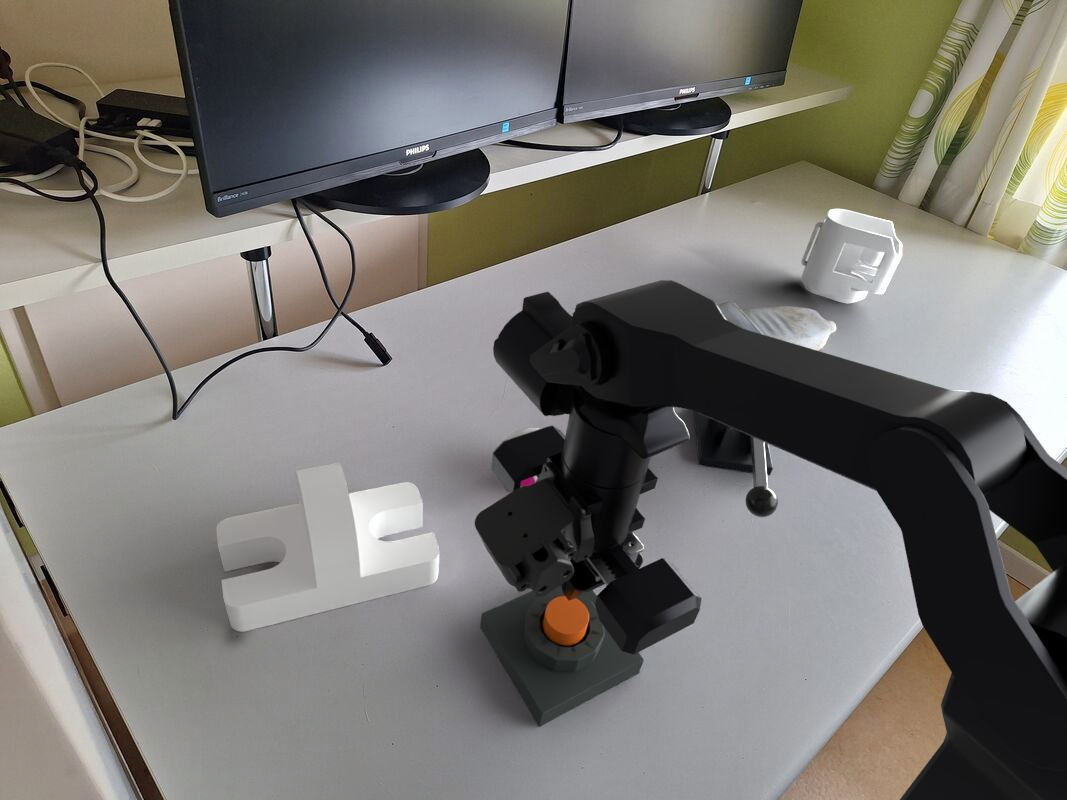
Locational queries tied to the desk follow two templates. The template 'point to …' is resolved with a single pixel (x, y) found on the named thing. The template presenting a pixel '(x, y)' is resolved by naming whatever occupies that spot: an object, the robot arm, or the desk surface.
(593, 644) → the button box
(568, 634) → the button
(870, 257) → the white plastic holder
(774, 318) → the handheld device
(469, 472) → the desk surface
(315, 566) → the white slotted mount
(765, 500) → the lever
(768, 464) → the bracket
